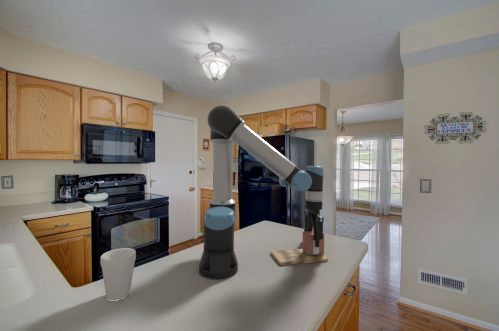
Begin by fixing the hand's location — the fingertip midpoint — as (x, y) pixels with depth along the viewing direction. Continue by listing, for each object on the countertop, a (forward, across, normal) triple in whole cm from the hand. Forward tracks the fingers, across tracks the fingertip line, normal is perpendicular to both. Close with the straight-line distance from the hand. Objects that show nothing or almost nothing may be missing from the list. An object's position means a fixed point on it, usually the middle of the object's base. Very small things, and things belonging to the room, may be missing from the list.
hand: (312, 251), depth 103 cm
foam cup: (+2, -16, +75) cm, 77 cm away
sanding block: (+1, 0, 0) cm, 1 cm away
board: (+2, 0, +7) cm, 7 cm away
